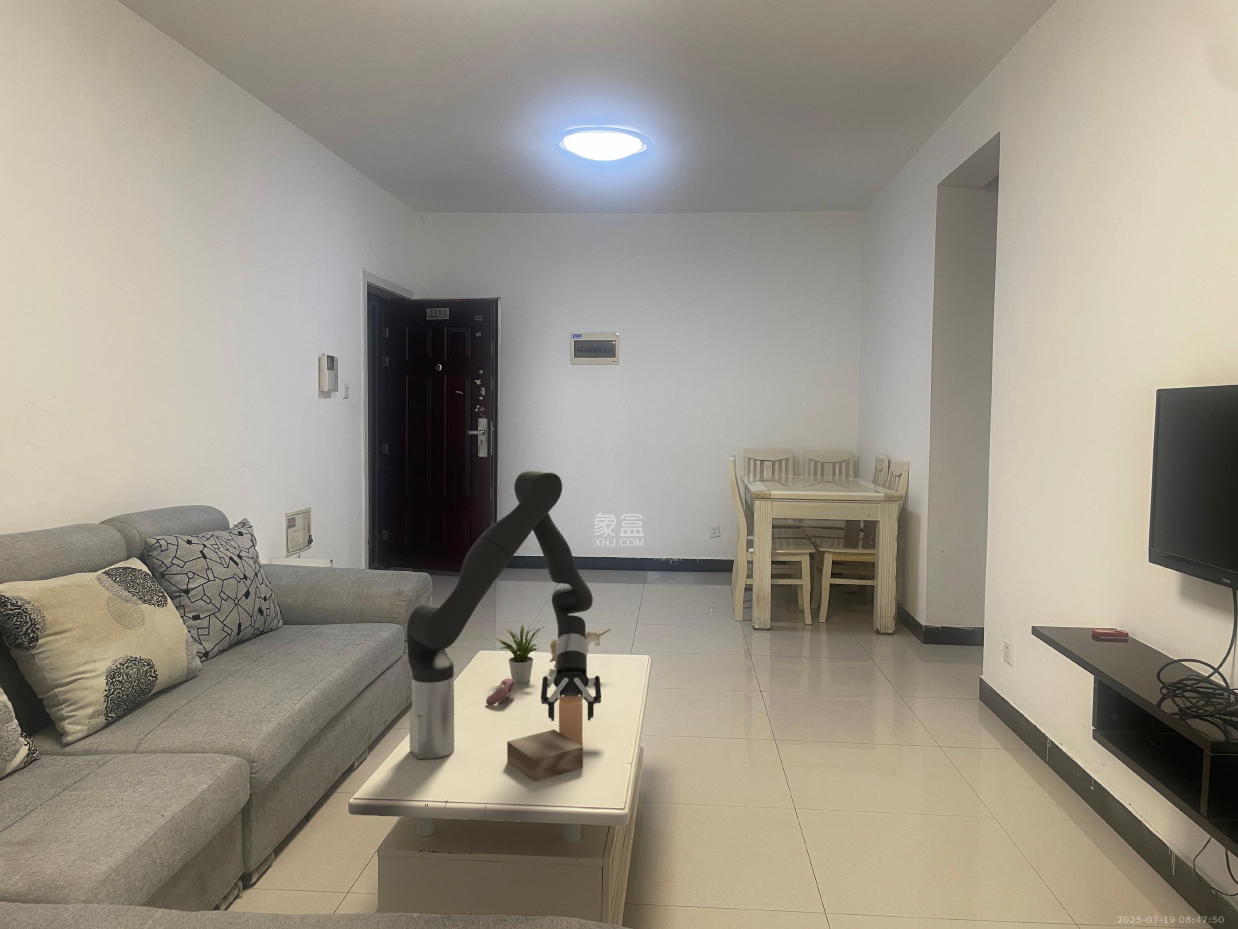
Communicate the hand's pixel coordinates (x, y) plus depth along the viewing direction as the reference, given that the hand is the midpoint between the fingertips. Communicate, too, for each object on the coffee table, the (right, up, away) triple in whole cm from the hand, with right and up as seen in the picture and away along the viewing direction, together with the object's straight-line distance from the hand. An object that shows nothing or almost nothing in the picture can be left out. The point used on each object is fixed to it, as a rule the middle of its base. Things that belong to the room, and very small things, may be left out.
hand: (570, 719), depth 185 cm
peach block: (0, -6, +1) cm, 6 cm away
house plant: (-17, -4, +47) cm, 50 cm away
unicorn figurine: (0, -3, +55) cm, 55 cm away
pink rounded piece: (-20, -4, +29) cm, 36 cm away
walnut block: (-5, -6, -12) cm, 14 cm away
